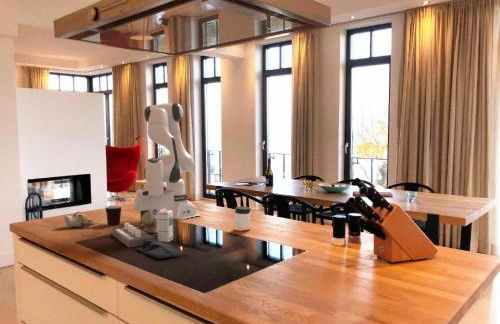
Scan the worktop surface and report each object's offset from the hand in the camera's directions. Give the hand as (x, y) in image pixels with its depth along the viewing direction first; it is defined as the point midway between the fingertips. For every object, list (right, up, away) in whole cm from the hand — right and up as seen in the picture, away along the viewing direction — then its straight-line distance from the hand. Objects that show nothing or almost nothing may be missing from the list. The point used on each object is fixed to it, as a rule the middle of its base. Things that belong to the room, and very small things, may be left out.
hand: (154, 218), depth 208 cm
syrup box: (+7, -10, -7) cm, 14 cm away
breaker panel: (-10, -10, -6) cm, 15 cm away
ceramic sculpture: (-45, -8, +18) cm, 50 cm away
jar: (+44, -9, +17) cm, 48 cm away
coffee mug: (-29, -7, +26) cm, 39 cm away
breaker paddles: (-9, -7, -6) cm, 13 cm away
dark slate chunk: (+9, -12, -26) cm, 30 cm away
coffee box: (-5, -9, +11) cm, 15 cm away
